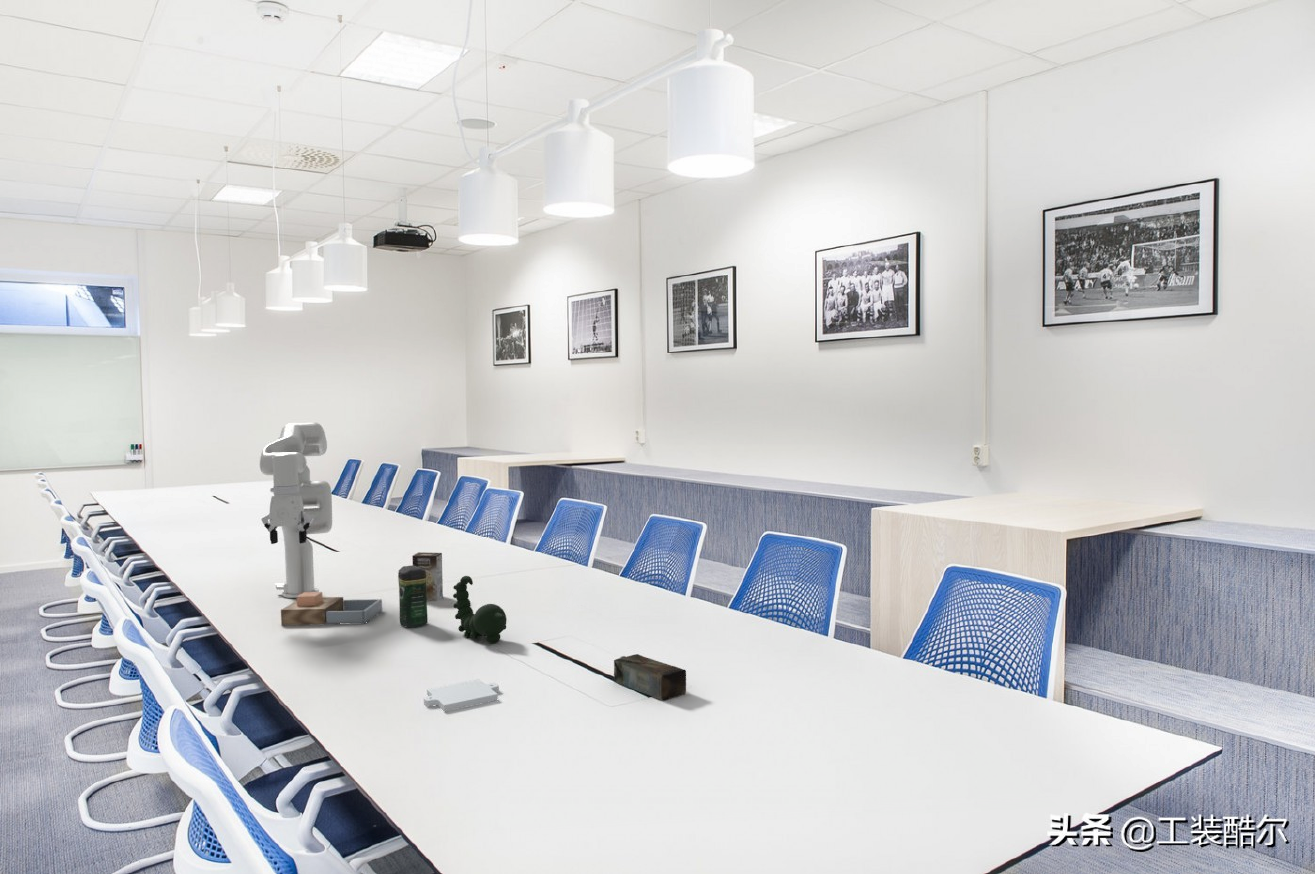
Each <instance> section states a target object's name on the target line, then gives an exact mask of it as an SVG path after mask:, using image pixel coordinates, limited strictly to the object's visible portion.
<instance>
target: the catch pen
mask: <svg viewBox="0 0 1315 874" xmlns="http://www.w3.org/2000/svg"><path fill="white" fill-rule="evenodd" d="M343 604H344V610H343V611H327V612H326V618H327V622H326V623H325V624H324V625H341V624H340V623H366V622H367V623H369V622H370V621H371V620H373V619H374V618H375V617H376V616H378V615H379V614H380V613H382V612H383V601H382V599H381V598H380V599H378V598H377V599H375V598H373V599H343ZM381 611H382V612H381ZM377 614H378V615H377ZM372 618H373V619H372ZM370 619H371V620H370ZM369 620H370V621H369ZM368 621H369V622H368ZM367 623H366V624H367Z"/></svg>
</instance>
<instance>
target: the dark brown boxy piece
mask: <svg viewBox="0 0 1315 874" xmlns="http://www.w3.org/2000/svg"><path fill="white" fill-rule="evenodd" d="M613 678H614V679H613V681H614V683H616V684H619V685H621V686H624V687H626V688H628V689H632V690H634V691H636V692H638V693H641V694H643V695H648V696H650V697H653V698H655V699H657V700H659V701H662V702H663V701H666V700H670V699H673V698H676V697H680V696H684V695H686V694H687V671H686V669H683V668H680V667H677V666H675V665H671V664H668V663H665V662H661V661H658V660H656V659H652V658H649V657H646V656H643V655H642V654H641V655H640V654H638V653H637V654H633V655H628V656H625V655H622V656H620V657H619V658H616V659H614V660H613Z"/></svg>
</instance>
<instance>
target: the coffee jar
mask: <svg viewBox="0 0 1315 874" xmlns="http://www.w3.org/2000/svg"><path fill="white" fill-rule="evenodd" d="M397 573H398V576H397V579H398V580H397V582H398V592H399V593H398V594H399V595H398V596H399V598H398V599H399V600H398V601H399V604H398V605H399V623H400V625H401V626H403V627H405V628H421V627H422V626H426V625H427V624H428V622H429V621H428V603H427V602H428V600H427V594H426V571H425V570H424V569H422V568H419V567H416V566H415V565H413V564H412V565H404V566H402V567H400V569H398V572H397Z"/></svg>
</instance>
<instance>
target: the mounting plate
mask: <svg viewBox="0 0 1315 874" xmlns="http://www.w3.org/2000/svg"><path fill="white" fill-rule="evenodd" d="M499 686H500V685H499V684H498V683H496V682H492V683H484V682H483V681H482V680H480V679H479V678H476V679H472V680H467V681H463V682H457V683H453V684H452V683H451V684H447V685H441V686H437V687H436V686H435V687H433V688H427V689H426V696H424V697H423V706H424V705H425V706H432V707H434V706H433V705H438V706H439V707H440V708H441V709H442V710H443V711H446V712H450V711H449V710H451V711H454V710H453V709H455V710H458V709H457V708H460V709H463V708H462V707H465V708H467V707H466V706H469V707H472V706H471V705H474V706H477V705H476V704H479V705H481V704H480V703H483V704H487V703H486V702H488V701H493V700H497V699H498V700H499V698H498V696H499V695H498V693H499V692H500V690H499V689H500V687H499ZM497 692H498V693H497ZM427 695H428V696H427ZM498 700H497V701H498ZM493 702H494V701H493ZM488 703H489V702H488ZM425 706H424V707H425ZM438 706H437V707H438ZM439 707H438V708H439ZM440 708H439V709H440ZM441 709H440V710H441ZM442 710H441V711H442ZM443 711H442V712H443Z"/></svg>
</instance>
